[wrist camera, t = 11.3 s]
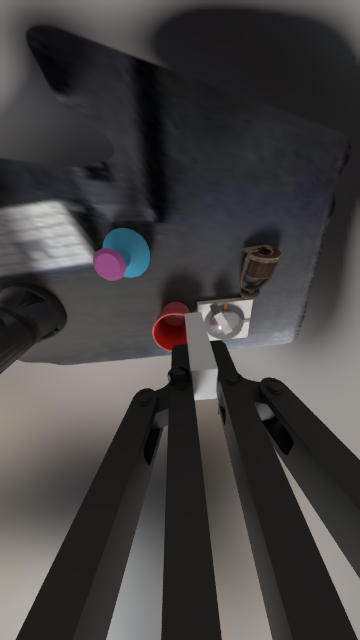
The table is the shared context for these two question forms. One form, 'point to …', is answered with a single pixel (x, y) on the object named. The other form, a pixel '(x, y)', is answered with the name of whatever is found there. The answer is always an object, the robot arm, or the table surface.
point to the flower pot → (171, 326)
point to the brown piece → (258, 267)
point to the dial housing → (234, 304)
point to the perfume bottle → (122, 255)
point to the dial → (224, 323)
